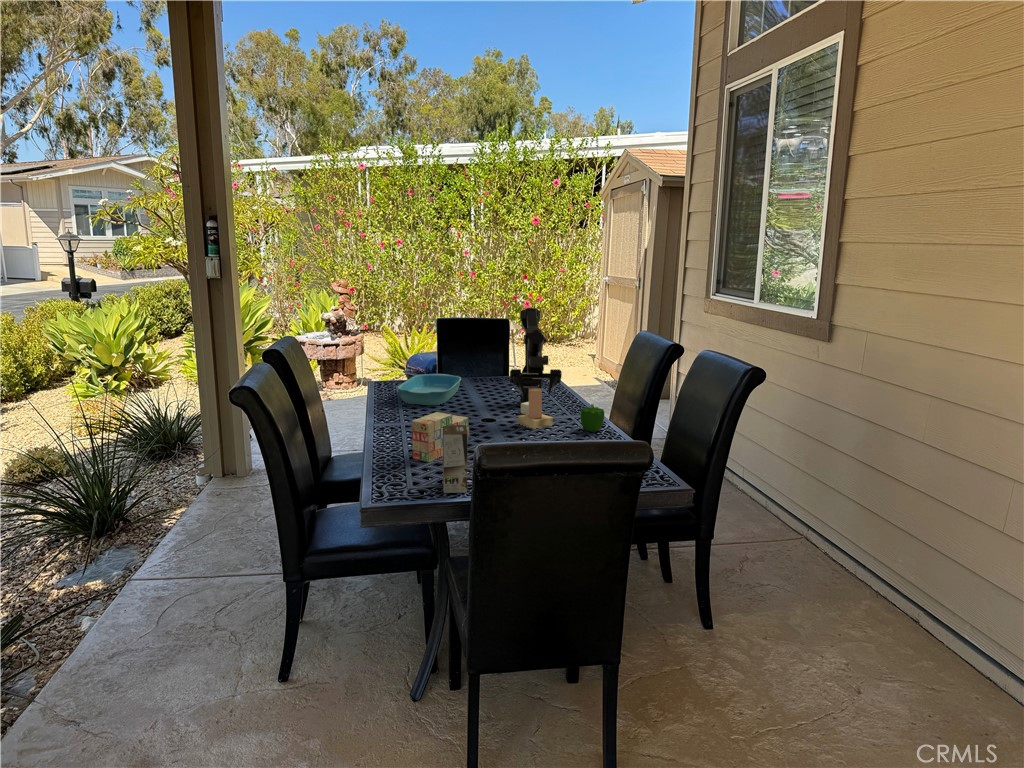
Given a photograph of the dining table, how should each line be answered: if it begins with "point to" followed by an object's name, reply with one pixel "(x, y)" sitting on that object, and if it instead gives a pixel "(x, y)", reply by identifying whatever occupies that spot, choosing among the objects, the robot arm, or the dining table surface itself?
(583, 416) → the bell pepper
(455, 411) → the dining table surface
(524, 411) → the brick
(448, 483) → the coffee box
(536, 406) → the pillar brick
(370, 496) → the dining table surface
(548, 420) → the base brick
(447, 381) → the casserole dish
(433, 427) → the stack of blocks
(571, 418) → the dining table surface
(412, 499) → the dining table surface
